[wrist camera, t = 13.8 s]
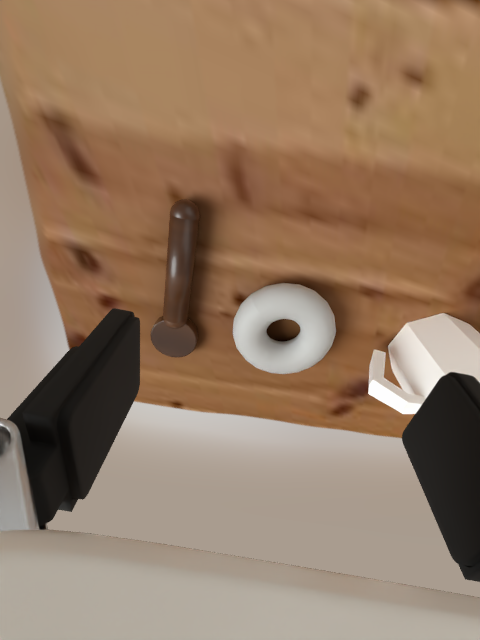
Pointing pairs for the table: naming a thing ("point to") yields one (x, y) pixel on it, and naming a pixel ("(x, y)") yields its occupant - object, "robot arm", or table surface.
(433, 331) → the mug
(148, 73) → the table surface
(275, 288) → the donut
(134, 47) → the table surface
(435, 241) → the table surface
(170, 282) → the spoon
